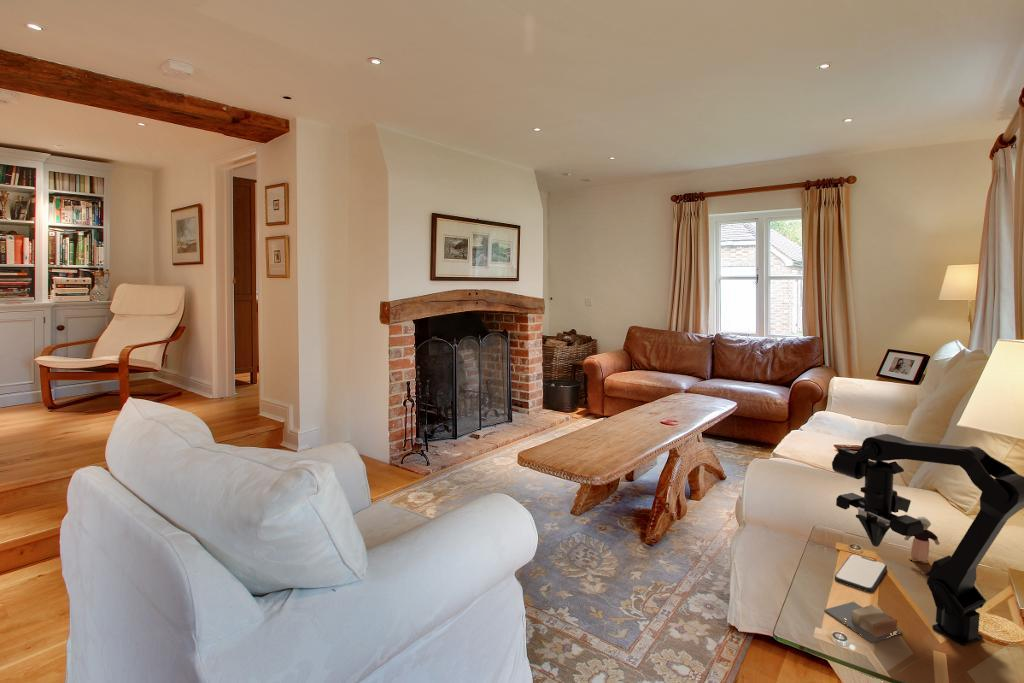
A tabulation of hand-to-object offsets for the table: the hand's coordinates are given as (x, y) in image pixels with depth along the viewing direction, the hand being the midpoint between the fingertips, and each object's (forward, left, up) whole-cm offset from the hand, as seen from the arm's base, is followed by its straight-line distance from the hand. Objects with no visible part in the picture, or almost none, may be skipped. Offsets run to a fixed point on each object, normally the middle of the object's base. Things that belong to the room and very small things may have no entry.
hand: (875, 545), depth 133 cm
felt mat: (-8, +14, -12) cm, 20 cm away
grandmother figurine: (+6, -25, -12) cm, 28 cm away
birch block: (-7, +13, -10) cm, 18 cm away
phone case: (+7, -4, -13) cm, 15 cm away
